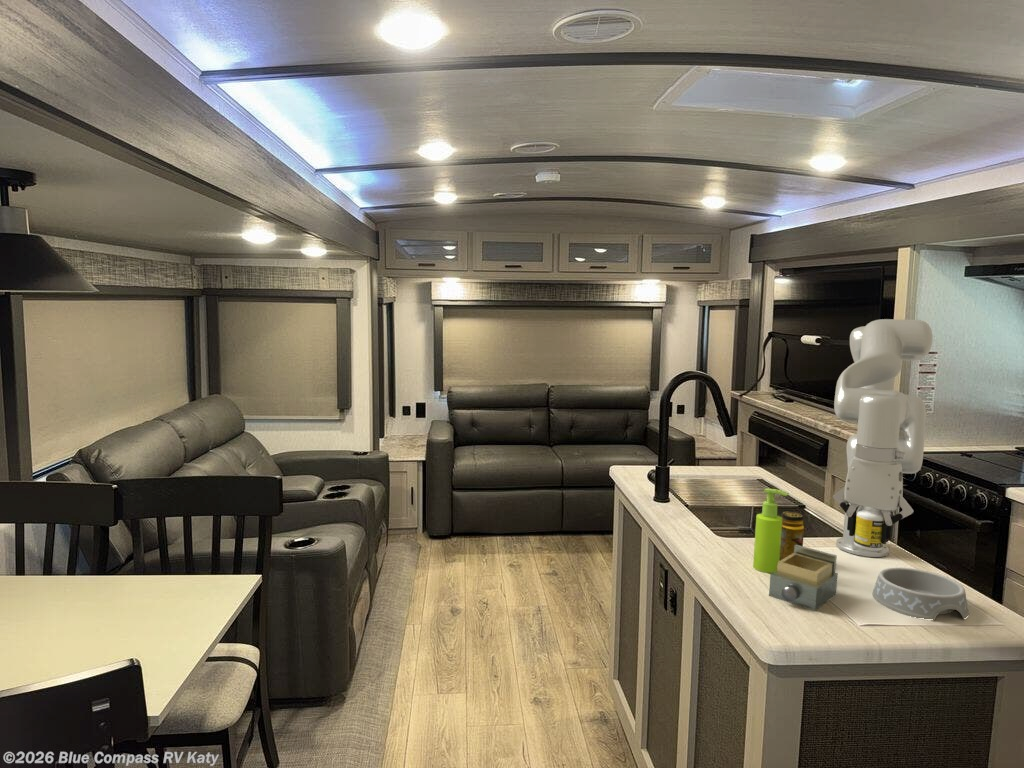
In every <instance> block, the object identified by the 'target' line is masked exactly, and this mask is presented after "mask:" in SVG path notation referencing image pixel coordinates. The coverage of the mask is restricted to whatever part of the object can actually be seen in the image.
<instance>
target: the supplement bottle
mask: <svg viewBox="0 0 1024 768" xmlns="http://www.w3.org/2000/svg"><path fill="white" fill-rule="evenodd" d="M861 507H862V506H861ZM881 511H882V510H877V509H874V508H871V507H865V506H864V507H862V509H860V510H858V511H857V514H856V525H855V535H854V544H855V545H856V546H857V547H859V548H862V549H865V550H871V551H878V550H881V549H882V548H883V544H882V543H881V536H882V526H883V524H885V519H884V515H883V513H882V512H881Z"/></svg>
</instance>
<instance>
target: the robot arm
mask: <svg viewBox="0 0 1024 768" xmlns="http://www.w3.org/2000/svg"><path fill="white" fill-rule="evenodd" d="M933 338H934V337H933V330H932V328H931V326H930V325H929V324H928V323H927V322H926V321H924V320H921V319H920V320H918V319H892V318H891V319H890V318H884V319H883V318H882V319H880V318H879V319H875V320H872V321H870V322H869V323H866V325H865V326H863V325H862V326H859V327H856V328H854V329H853V330H852V331H851V332H850V335H849V348H850V353H851V356H852V359H853V363H852V364H850V365H849V366H847V368H845V369H844V370H843V371H842V372H841V374H840V375H839V377H838V379H837V381H836V384H835V385H836V386H835V392H834V394H835V395H834V403H833V406H834V407H833V408H834V409H833V410H834V413H835V416H836V417H837V418H838V419H839V420H841V421H843V422H849V423H857V432H856V433H854V434H852V435H851V436H849V438H848V439H847V442H846V461H847V463H846V464H847V474H846V478H845V482H844V483H845V485H844V486H843V487H842V488H840V489H839V490H838V491H837V492H836V493H834V494H833V495H832V499H833V500H834V501H835V502H836V503H837V504H838V505H839V506H840V508H841V509H842V511H844V520H843V521H844V522H843V533H842V537H839V538H837V539H836V540H835V541H836V542H835V545H836V548H839V549H840V550H842V551H844V552H846V553H849V554H851V555H855V556H860V557H868V558H869V557H870V558H882V557H886V556H888V555H889V553H890V549H889V547H888V546H887V545H886V544H887V543H888V542H889V541H891V540H892V539H893V531H894V530H893V529H894V525H895V524H896V523H897V522H899V521H901V520H903V519H904V518H907V517H908V516H910V515H912V514H914V509H913V508H912V506H911V505H910V504H909V503H908V501H907V500H906V499H905V498H904V497H903V495H904V494H903V490H904V485H903V483H904V479H903V478H904V477H903V474H910V475H911V474H917V473H918V472H919V471H920V470H921V468H922V465H923V460H924V451H925V450H924V449H925V438H926V437H925V436H926V423H927V421H926V420H927V417H926V416H927V411H926V410H927V409H926V404H925V402H924V400H923V399H922V398H921V397H919V396H917V395H913V394H904V392H901V391H897V390H895V382H896V381H895V379H896V377H897V376H898V374H899V373H900V372H901V371H902V366H903V361H910V362H911V361H912V362H913V361H921V360H923V359H924V358H925V357H927V355H929V354H930V352H931V349H932V346H933V341H934V339H933ZM900 432H902V433H903V434H904V436H903V435H902V436H900ZM861 506H862V507H864V506H865V507H871V508H874V509H877V510H882V511H881V512H882V513H883V515H884V519H885V524H883V526H882V536H881V543H882V544H883V548H882V549H881V550H878V551H871V550H865V549H862V548H859V547H857V546H856V545H855V544H854V535H855V525H856V514H857V511H858V510H860V509H862V507H861ZM897 508H901V509H902V510H901V511H900V512H897V513H896V514H895V513H894V512H895V511H896V510H897Z"/></svg>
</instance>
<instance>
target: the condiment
mask: <svg viewBox="0 0 1024 768" xmlns="http://www.w3.org/2000/svg"><path fill="white" fill-rule="evenodd" d="M780 517H781V518H782V530H781V544H780V558H779V561H781V560H782V559H784V558H786V557H787V556H789V555H791V554H792V553H794V546H795V545H800V546H803V547H804V534H805V526H804V516H803V515H802V514H800V513H799V512H795V511H783V512H781V513H780Z"/></svg>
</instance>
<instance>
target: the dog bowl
mask: <svg viewBox="0 0 1024 768" xmlns="http://www.w3.org/2000/svg"><path fill="white" fill-rule="evenodd" d="M871 595H872V598H873V599H874V601H876V602H878V604H880V605H881V606H883V607H884V608H886V609H889V610H891V611H893V612H896V613H898V614H901V615H903V616H907V617H910V616H911V618H914V617H916V618H915V619H918V618H924V619H933V620H934V621H935V620H936V618H937V616H938V615H944V614H945V615H946V614H949V613H953V612H954V611H955V610H956V611H957V612H959V614H960V615H961V616H962V619H963V620H964V618H966V617H967V616H968V615H969V616H970V612H969V610H970V609H969V606H968V599H967V593H966V589H965V587H964V586H963V585H962V584H961V583H959V582H957V581H956V580H954V579H952V578H949V576H945V575H942V574H938V573H935V572H932V571H928V570H924V569H919V568H910V567H909V568H908V567H888V568H885V569H882V570H880V571H879V572H878V576H877V578H876V581H875V585H874V587H873V589H872V594H871Z"/></svg>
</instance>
